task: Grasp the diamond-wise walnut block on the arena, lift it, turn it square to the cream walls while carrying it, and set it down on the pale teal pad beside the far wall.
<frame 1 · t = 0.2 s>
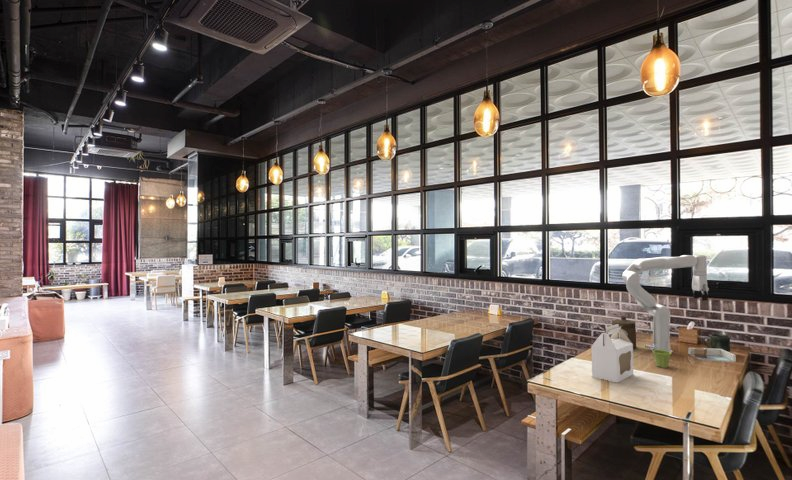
hand: (700, 299, 270), 36 cm above the table, tool pointing down, fingers open, 9 cm apart
mug: (716, 353, 270), on the table
arena: (711, 358, 256), on the table
walnut block: (700, 356, 258), point 1 cm above the table, touching arena
plant pot: (662, 366, 242), on the table
gable box: (612, 376, 225), on the table
wooden container: (624, 347, 289), on the table
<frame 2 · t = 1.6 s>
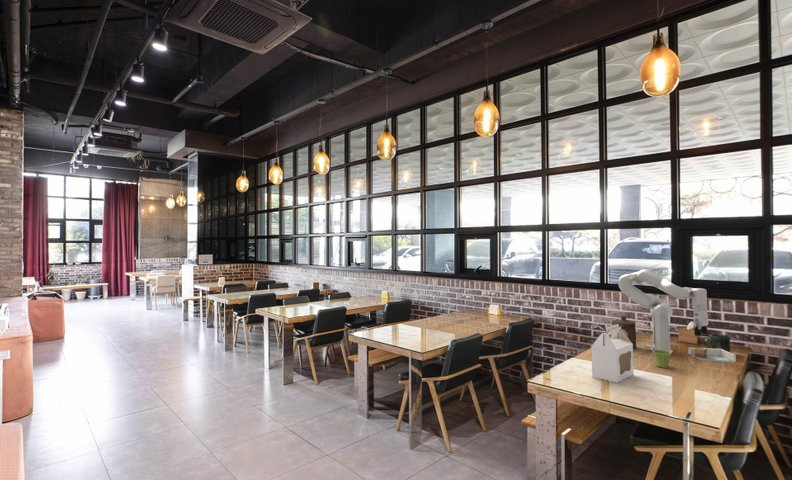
hand: (700, 334, 258), 15 cm above the table, tool pointing down, fingers open, 9 cm apart
nothing on the table moved.
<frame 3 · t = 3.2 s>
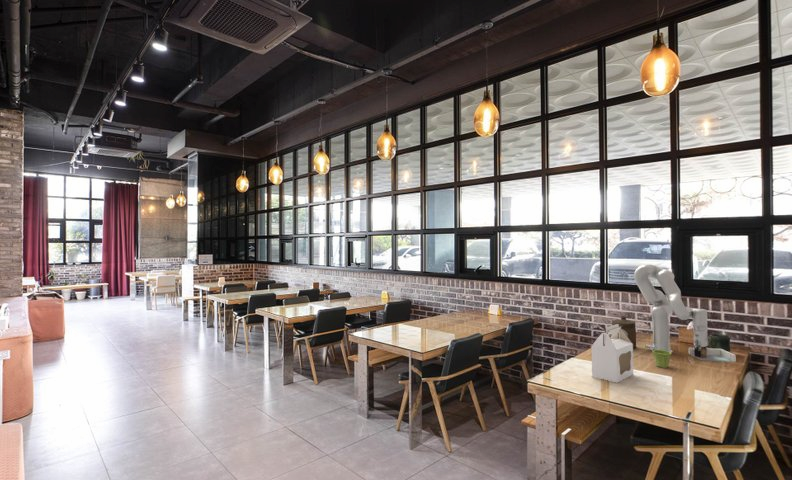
hand: (700, 355, 258), 2 cm above the table, tool pointing down, fingers open, 8 cm apart
nothing on the table moved.
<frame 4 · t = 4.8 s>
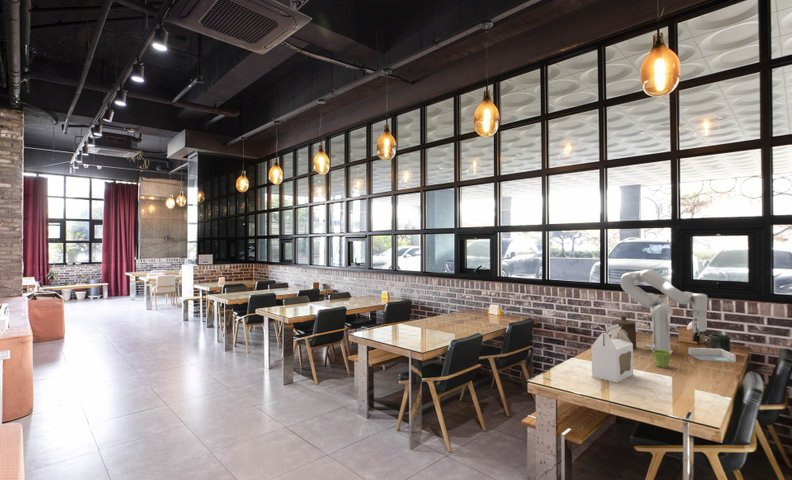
hand: (698, 340, 259), 11 cm above the table, tool pointing down, fingers closed on walnut block, 5 cm apart
walnut block: (698, 341, 259), point 11 cm above the table, touching gripper
everything else where it was.
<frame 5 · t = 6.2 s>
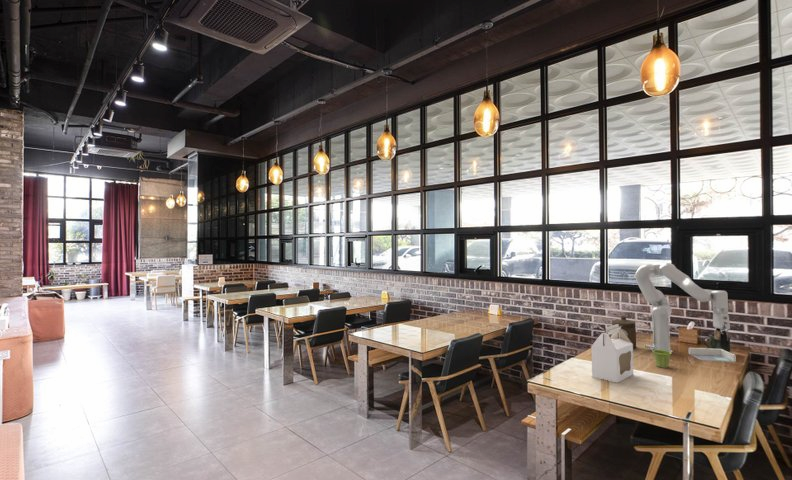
hand: (721, 339, 253), 13 cm above the table, tool pointing down, fingers closed on walnut block, 5 cm apart
walnut block: (721, 339, 253), point 13 cm above the table, touching gripper
everything else where it was.
when the fingers open (3 cm above the table, at t = 8.8 s): walnut block drops 1 cm, resting on arena.
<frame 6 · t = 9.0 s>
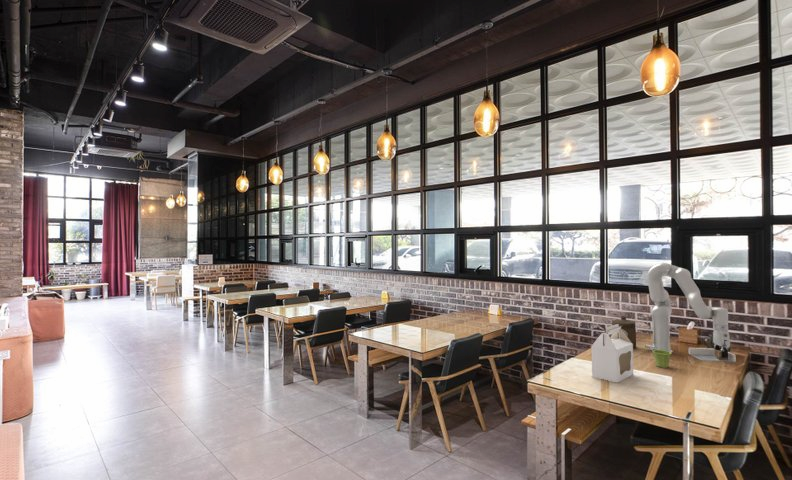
hand: (721, 355, 253), 3 cm above the table, tool pointing down, fingers open, 7 cm apart
walnut block: (721, 359, 252), point 1 cm above the table, touching arena
everything else where it was.
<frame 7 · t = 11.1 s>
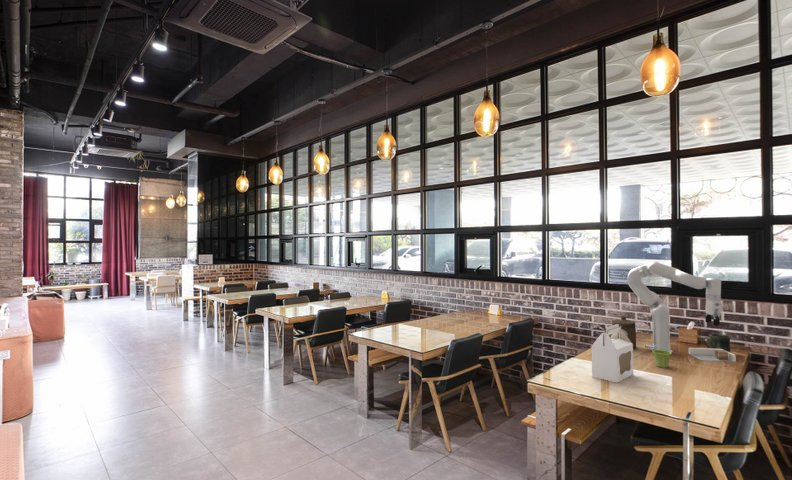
hand: (712, 323, 259), 22 cm above the table, tool pointing down, fingers open, 9 cm apart
nothing on the table moved.
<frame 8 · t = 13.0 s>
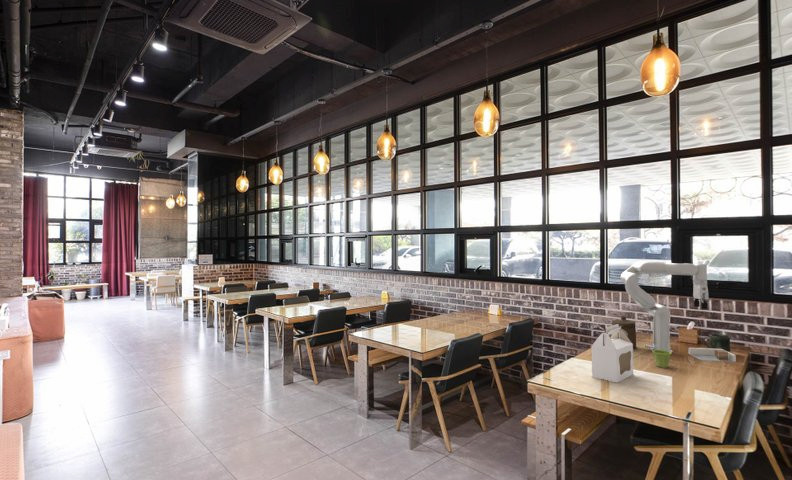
hand: (700, 307, 270), 30 cm above the table, tool pointing down, fingers open, 9 cm apart
nothing on the table moved.
at the end: walnut block 0.1 cm from the target spot on the arena, point 0.9 cm above the arena's base; walnut block tilted 0°; the gripper is holding nothing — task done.
